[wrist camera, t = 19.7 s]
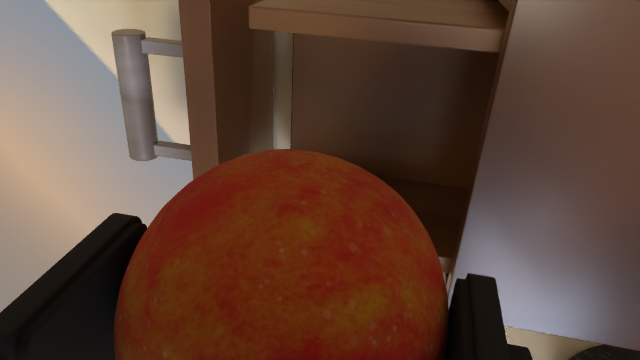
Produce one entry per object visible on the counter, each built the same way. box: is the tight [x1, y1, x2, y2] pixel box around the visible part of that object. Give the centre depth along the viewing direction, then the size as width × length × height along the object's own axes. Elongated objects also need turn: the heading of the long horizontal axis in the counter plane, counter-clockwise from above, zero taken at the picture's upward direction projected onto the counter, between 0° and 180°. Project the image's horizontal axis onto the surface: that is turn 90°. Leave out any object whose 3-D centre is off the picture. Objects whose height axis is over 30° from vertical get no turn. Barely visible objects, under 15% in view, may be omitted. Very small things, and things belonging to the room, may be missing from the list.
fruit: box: [114, 149, 449, 360], centre depth 10 cm, size 7×7×8 cm
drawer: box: [111, 0, 509, 273], centre depth 22 cm, size 18×11×8 cm, turn 87°
